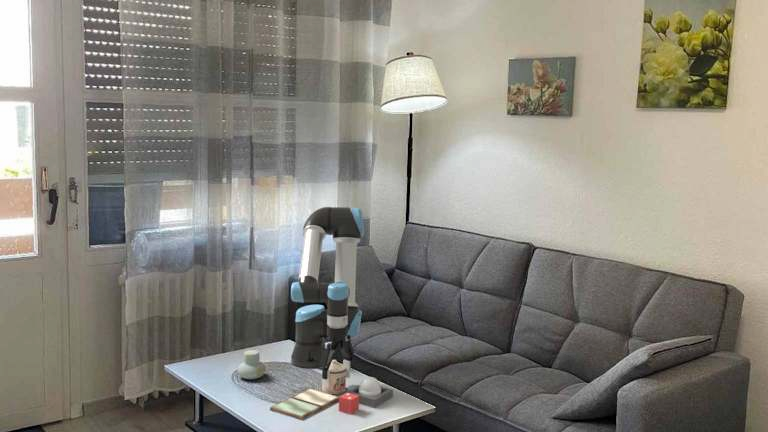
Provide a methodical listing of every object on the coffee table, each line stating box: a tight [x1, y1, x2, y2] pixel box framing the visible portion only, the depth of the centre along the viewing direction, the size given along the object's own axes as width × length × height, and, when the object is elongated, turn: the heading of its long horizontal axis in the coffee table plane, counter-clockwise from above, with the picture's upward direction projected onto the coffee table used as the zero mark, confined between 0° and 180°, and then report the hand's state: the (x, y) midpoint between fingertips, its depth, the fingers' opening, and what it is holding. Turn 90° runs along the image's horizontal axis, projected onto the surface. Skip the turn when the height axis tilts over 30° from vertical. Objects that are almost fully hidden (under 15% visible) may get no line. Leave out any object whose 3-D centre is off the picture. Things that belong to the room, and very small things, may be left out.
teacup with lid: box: [321, 359, 347, 396], centre depth 275 cm, size 12×9×12 cm
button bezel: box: [345, 384, 394, 409], centre depth 267 cm, size 12×12×3 cm
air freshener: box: [236, 349, 267, 380], centre depth 286 cm, size 11×8×10 cm
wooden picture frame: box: [269, 388, 340, 421], centre depth 261 cm, size 22×14×1 cm, turn 147°
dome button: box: [359, 376, 381, 398], centre depth 267 cm, size 8×8×7 cm
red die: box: [338, 393, 360, 415], centre depth 256 cm, size 5×5×5 cm
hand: (336, 382), depth 275 cm, fingers closed on teacup with lid, 12 cm apart
